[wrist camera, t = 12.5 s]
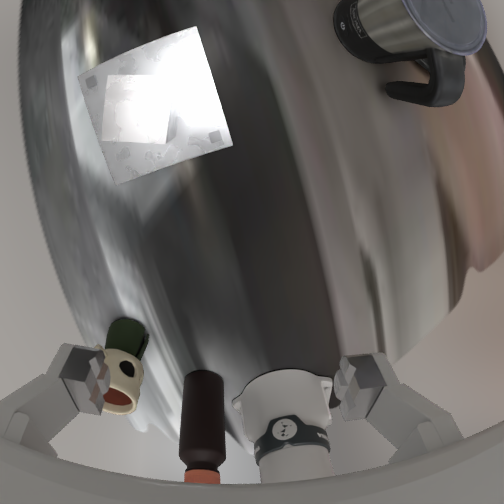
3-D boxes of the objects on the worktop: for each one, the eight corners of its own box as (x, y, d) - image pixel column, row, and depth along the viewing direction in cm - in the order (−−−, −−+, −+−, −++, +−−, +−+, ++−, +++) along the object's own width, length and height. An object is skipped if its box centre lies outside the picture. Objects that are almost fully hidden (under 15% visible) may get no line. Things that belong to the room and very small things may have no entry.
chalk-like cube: (183, 80, 28) (174, 76, 23) (175, 136, 31) (165, 144, 25) (127, 77, 27) (107, 75, 22) (120, 132, 30) (101, 140, 25)
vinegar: (176, 380, 49) (167, 485, 32) (202, 363, 47) (199, 477, 30) (205, 397, 52) (205, 496, 34) (232, 381, 50) (238, 487, 32)
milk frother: (316, 5, 25) (373, -42, 12) (415, -23, 22) (490, -51, 9) (376, 111, 31) (458, 130, 18) (462, 70, 28) (545, 80, 15)
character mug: (164, 352, 46) (153, 421, 34) (126, 358, 46) (109, 423, 34) (135, 299, 40) (111, 370, 29) (94, 307, 41) (64, 373, 29)
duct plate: (232, 144, 32) (233, 150, 28) (117, 184, 33) (105, 195, 29) (196, 27, 25) (192, 18, 22) (79, 76, 26) (62, 75, 23)
